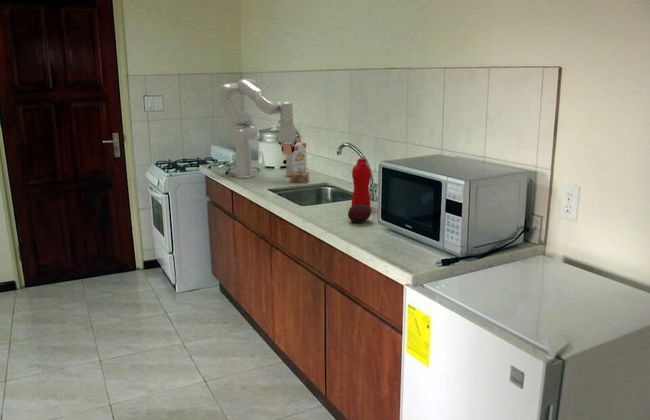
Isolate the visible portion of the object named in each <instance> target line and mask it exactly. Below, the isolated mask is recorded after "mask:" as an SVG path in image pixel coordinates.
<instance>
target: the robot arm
mask: <svg viewBox="0 0 650 420" xmlns="http://www.w3.org/2000/svg"><path fill="white" fill-rule="evenodd" d="M242 96H246V97H248V98H249V99H250V100H252V101H253V102H254V104H255V106H256V108H258V109H259V110H260V111H262V112H263V113H265V114H267V115H280V120H278V124H280V125H279V126H278V137H277V138H276V139H275V142H276V143H277V144H278V145H280V147H281V152H283V144H285V142H287V143H289V142H290V144H292V147H291V148H292V153H293V152H294V146H295V144H296V143H299V142H301V141H300V140H301V139H299V138H298V136H297V133H296V126H295V124H294V114H293V112H294V111H293V102H292V101H281V100H278V101H276V100H275V101H269V100H267V99H266V98H265V97H264V91H263V90H262V89H261V88H260V87H259V85H258V82H257V81H256V80H255V79H253V78H242V79H240V80H239V81H238V82H229V83H227V82H226V83H223V84H221V85H220V86H219V88H218V92H217V97H218V101H219V103H220V105H221V106H222V108H223V111H224V114H225V115H226V117H227V120H228V122H229V124H230V125H231V126H232V127H233V128H234V127H235V128H236V127H237V128H236V129H235V130H234V132H233V141H234V144H235V157H236V158H235V159H236V169H230V174H234V177H235V178H238V179H249V178H254V177H255V173H252V171H253V170H252V149H251V145H250V142H253V141H255V140H256V139H257V138H258V135H259V133H258V130H257V127H256V124H255V123H254V120H253V118H252V116H251V115H250V113H249V112H248V111H246V110H240V109H239V108H238V105H237V103H236V102H235V100H233V98H236V97H242Z"/></svg>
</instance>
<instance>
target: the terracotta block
mask: <svg viewBox="0 0 650 420" xmlns="http://www.w3.org/2000/svg"><path fill="white" fill-rule="evenodd" d="M291 147H292V143H284V144H283V151H282V155H284V156H285V155H286V154H293V153H292V148H291Z"/></svg>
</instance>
